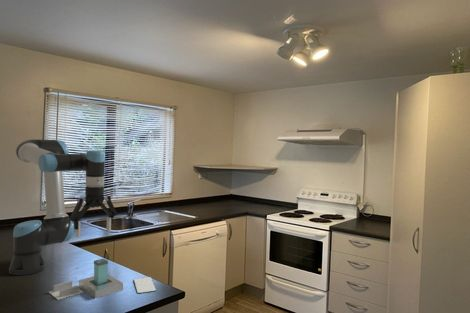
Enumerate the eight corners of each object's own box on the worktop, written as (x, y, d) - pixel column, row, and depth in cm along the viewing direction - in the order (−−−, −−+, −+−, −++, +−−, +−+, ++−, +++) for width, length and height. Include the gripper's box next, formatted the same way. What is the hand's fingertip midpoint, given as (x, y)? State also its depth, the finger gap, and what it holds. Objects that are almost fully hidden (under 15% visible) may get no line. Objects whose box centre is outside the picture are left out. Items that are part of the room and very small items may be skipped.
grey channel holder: (48, 292, 142) (48, 285, 142) (73, 285, 149) (73, 279, 149) (57, 300, 135) (57, 293, 135) (83, 292, 142) (83, 285, 142)
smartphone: (156, 292, 145) (150, 278, 160) (156, 290, 145) (151, 276, 160) (137, 295, 142) (133, 280, 157) (137, 293, 142) (133, 278, 157)
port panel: (78, 287, 148) (78, 279, 148) (105, 279, 157) (105, 272, 157) (95, 298, 137) (95, 290, 137) (123, 289, 146) (123, 282, 146)
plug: (93, 288, 147) (93, 260, 147) (103, 285, 150) (103, 258, 150) (98, 291, 144) (98, 263, 144) (107, 288, 147) (107, 260, 147)
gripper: (68, 189, 138) (67, 241, 139) (125, 185, 156) (124, 231, 157) (61, 186, 143) (60, 237, 144) (117, 183, 161) (116, 227, 162)
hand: (93, 234), depth 150 cm, fingers open, 13 cm apart
